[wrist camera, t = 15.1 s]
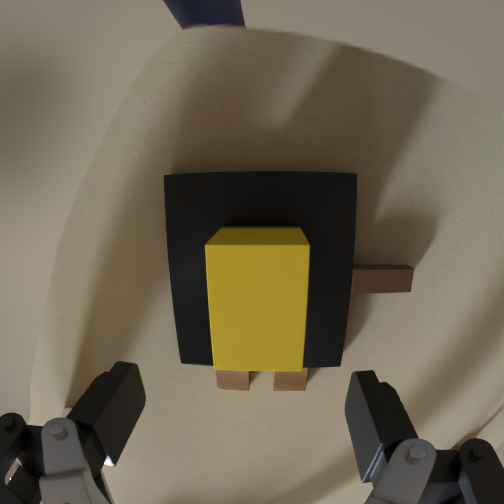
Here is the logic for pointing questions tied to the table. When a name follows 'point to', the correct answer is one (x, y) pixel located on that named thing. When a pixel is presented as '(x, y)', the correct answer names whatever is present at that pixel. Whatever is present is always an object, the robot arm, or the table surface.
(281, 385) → the scrap
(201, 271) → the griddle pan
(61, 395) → the table surface
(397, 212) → the table surface
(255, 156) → the table surface
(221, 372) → the block
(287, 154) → the table surface
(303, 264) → the sponge
